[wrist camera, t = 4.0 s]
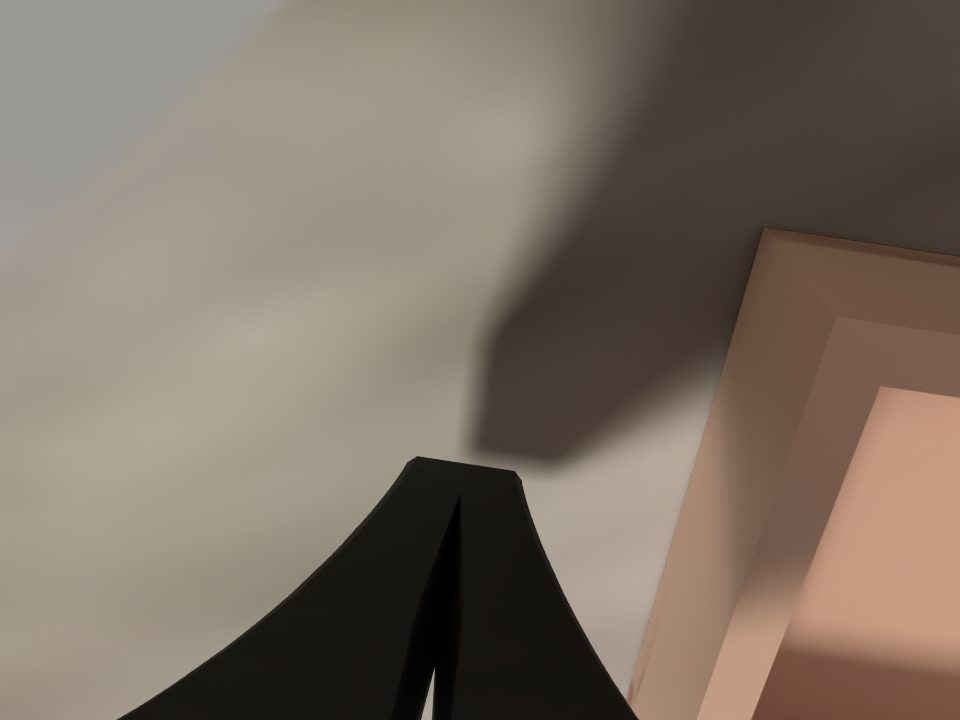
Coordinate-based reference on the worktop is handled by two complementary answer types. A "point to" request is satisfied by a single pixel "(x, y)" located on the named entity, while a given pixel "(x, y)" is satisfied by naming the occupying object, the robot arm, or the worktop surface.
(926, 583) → the peach open box
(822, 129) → the worktop surface
